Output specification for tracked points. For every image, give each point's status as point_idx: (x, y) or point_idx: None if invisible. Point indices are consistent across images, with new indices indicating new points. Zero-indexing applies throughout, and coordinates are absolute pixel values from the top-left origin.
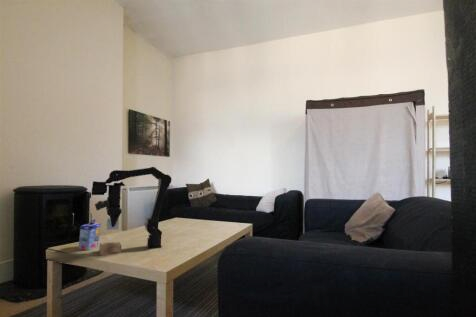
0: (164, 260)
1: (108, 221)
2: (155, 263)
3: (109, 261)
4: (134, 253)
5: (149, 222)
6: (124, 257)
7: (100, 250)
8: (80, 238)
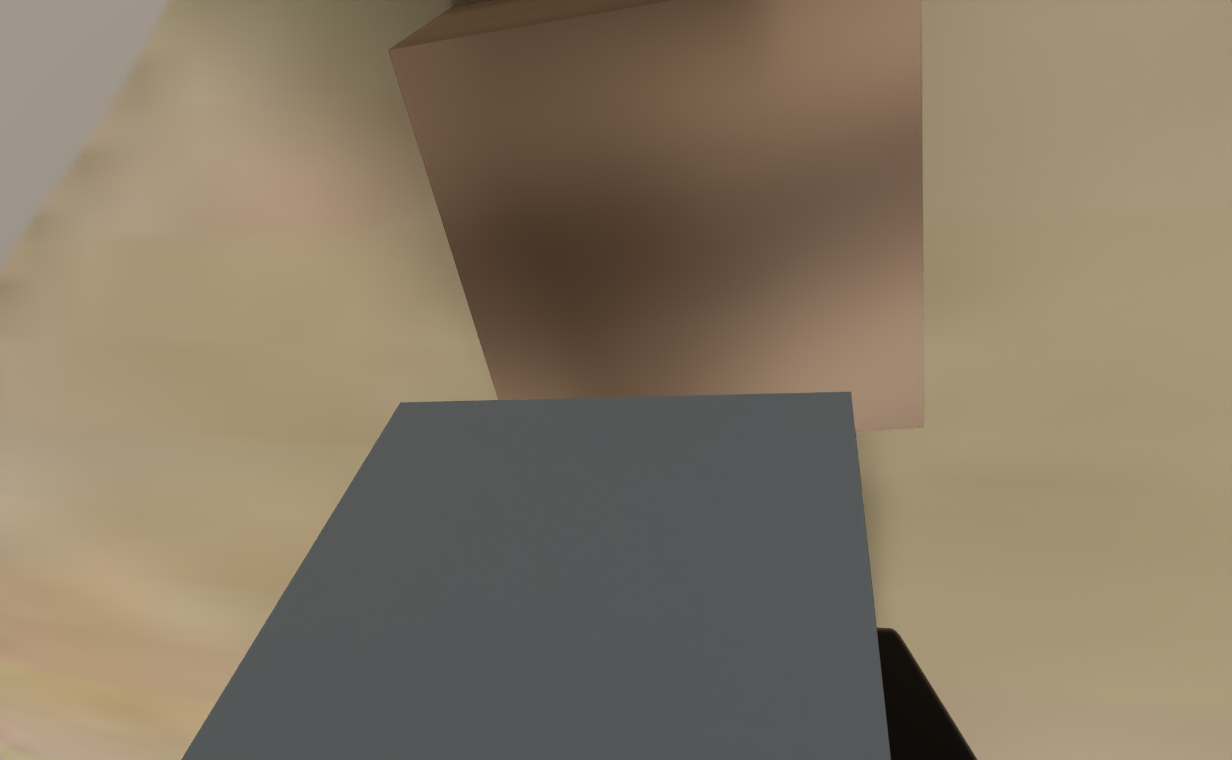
0: (126, 713)
1: (229, 738)
2: (24, 639)
3: (69, 198)
4: None
5: None
6: (270, 397)
7: (485, 17)
8: None
